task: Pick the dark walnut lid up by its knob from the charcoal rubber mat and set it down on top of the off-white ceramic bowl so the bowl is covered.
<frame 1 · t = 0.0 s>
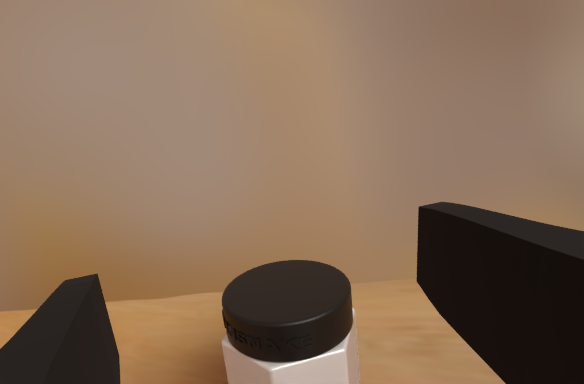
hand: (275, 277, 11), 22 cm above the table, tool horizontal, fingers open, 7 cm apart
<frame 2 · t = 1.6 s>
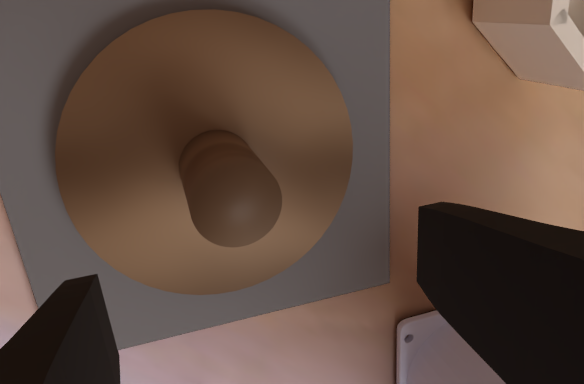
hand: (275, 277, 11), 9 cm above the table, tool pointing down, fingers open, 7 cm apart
lid: (214, 161, 19), resting on mat
mat: (213, 158, 19), on the table
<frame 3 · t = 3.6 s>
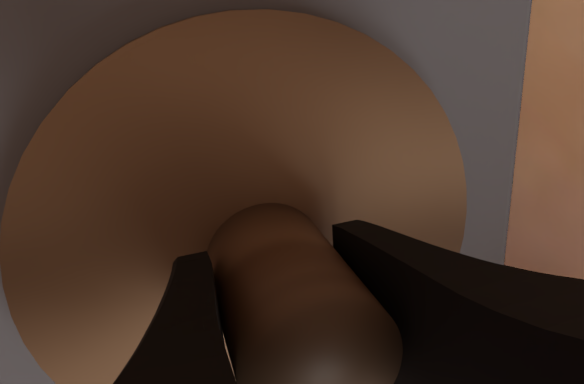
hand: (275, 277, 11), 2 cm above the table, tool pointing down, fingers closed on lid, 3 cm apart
lid: (258, 245, 12), resting on mat, touching gripper
mat: (254, 238, 12), on the table
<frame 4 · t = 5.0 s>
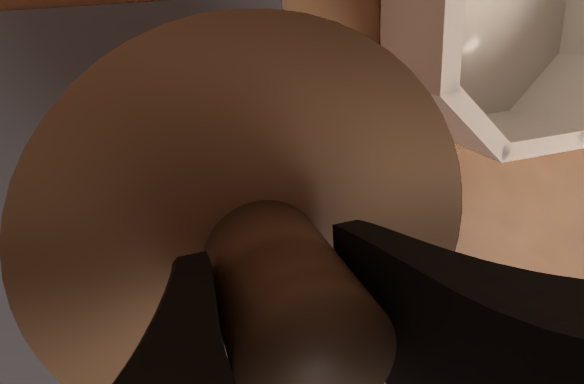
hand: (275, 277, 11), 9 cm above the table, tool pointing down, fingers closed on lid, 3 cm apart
bowl: (477, 20, 20), on the table
lid: (255, 241, 12), point 7 cm above the table, touching gripper
mat: (99, 222, 18), on the table
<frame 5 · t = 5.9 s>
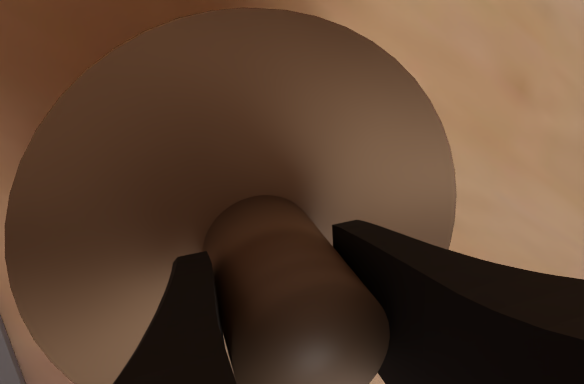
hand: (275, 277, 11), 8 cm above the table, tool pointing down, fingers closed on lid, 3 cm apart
lid: (254, 236, 12), point 6 cm above the table, touching gripper
when the fingers open (7 cm above the table, at t = 6.7 s): lid stays where it is, point 4 cm above the table.
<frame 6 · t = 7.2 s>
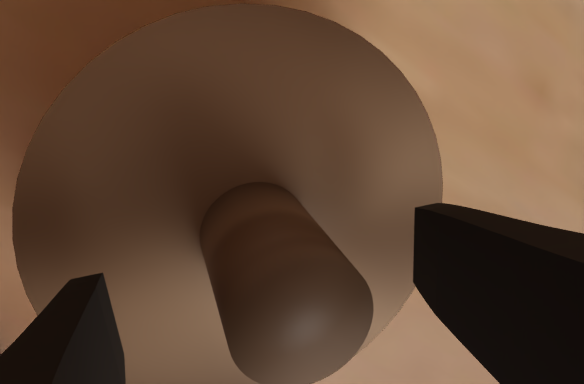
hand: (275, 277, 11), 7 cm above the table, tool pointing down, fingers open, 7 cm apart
lid: (249, 222, 13), point 4 cm above the table
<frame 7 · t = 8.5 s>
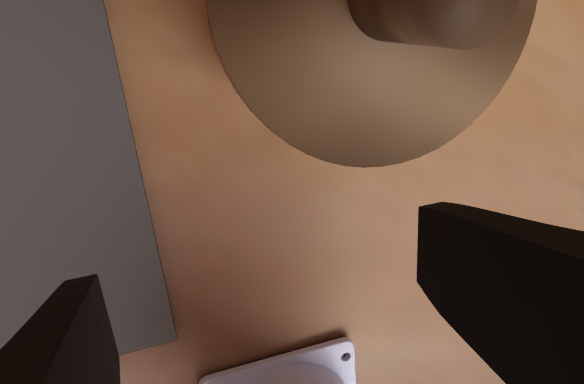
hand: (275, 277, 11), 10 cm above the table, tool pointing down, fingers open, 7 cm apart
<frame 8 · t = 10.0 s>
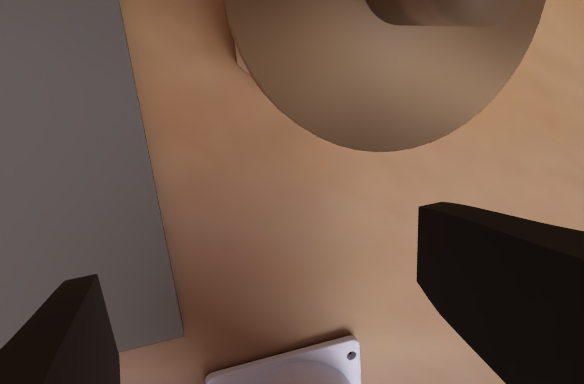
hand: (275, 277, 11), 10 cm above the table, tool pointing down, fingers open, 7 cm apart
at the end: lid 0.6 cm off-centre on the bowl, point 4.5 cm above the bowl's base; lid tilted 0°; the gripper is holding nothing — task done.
